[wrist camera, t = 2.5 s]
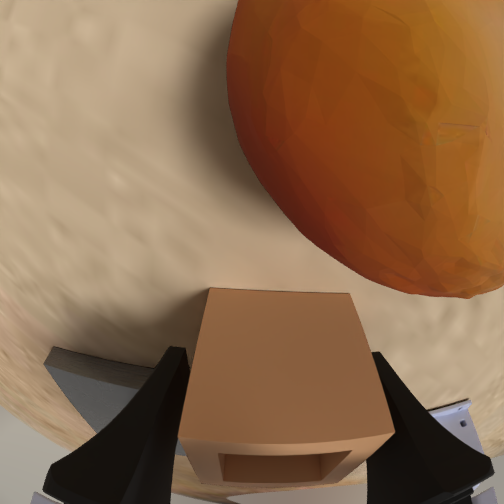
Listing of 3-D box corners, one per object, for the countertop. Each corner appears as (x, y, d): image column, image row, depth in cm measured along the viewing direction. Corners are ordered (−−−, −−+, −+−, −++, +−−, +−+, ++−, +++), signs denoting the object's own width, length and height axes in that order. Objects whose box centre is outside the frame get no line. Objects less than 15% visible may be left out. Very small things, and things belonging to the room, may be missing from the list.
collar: (349, 293, 11) (395, 432, 5) (322, 375, 13) (337, 483, 8) (209, 287, 11) (177, 436, 5) (215, 372, 13) (201, 483, 8)
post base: (210, 375, 14) (193, 494, 8) (219, 443, 18) (212, 515, 13) (53, 346, 14) (10, 429, 8) (104, 422, 18) (84, 484, 13)
